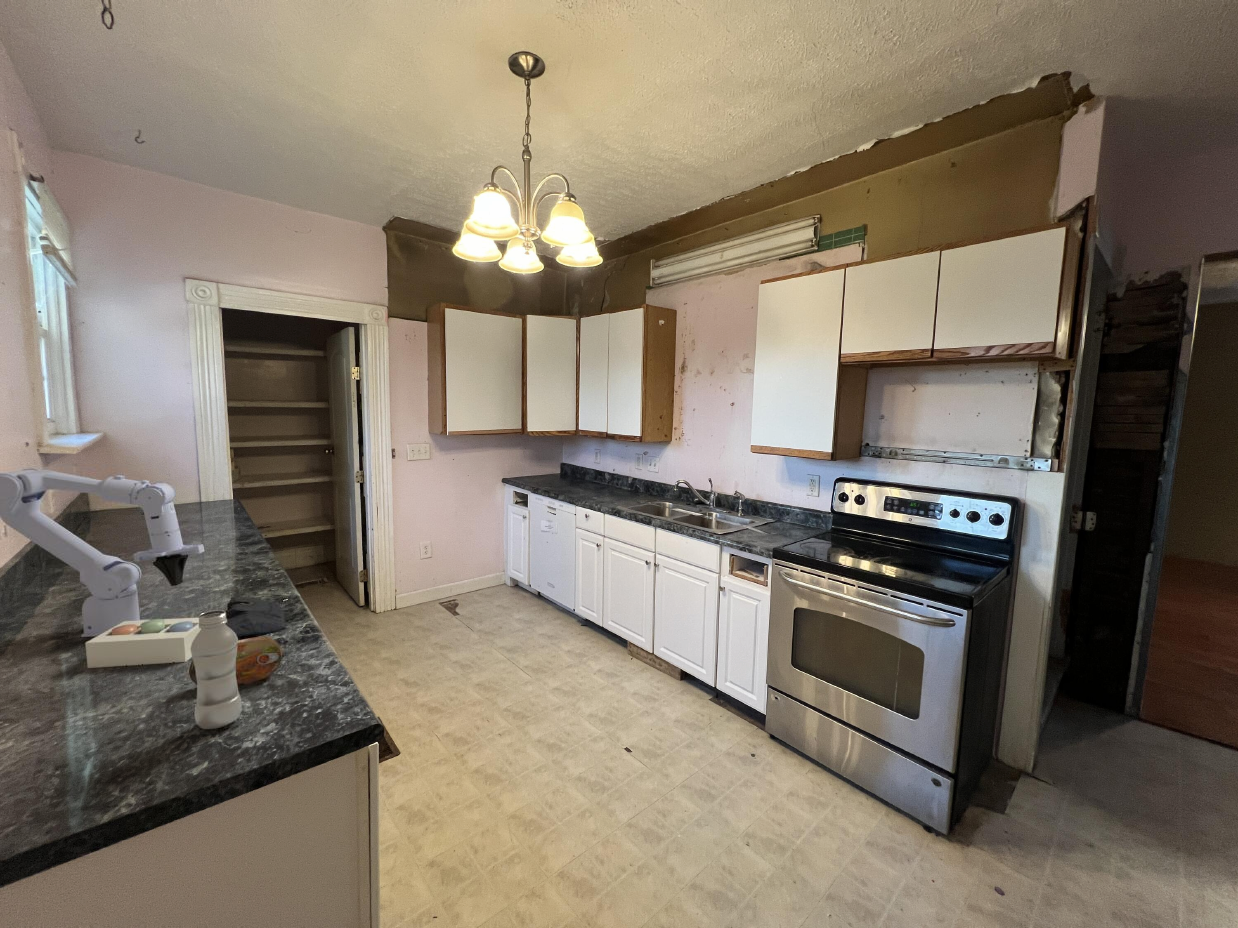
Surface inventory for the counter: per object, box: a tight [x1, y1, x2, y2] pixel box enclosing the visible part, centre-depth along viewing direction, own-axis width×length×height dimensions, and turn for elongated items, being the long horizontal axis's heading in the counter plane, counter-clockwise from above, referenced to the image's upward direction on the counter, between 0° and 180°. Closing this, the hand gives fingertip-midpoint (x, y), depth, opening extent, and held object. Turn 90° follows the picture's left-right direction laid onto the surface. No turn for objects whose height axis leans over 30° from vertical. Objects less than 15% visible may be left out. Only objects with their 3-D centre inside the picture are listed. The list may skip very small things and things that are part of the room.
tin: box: [188, 636, 283, 686], centre depth 105 cm, size 15×3×8 cm, turn 117°
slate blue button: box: [169, 621, 193, 632], centre depth 117 cm, size 4×4×3 cm
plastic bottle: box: [191, 609, 243, 730], centre depth 91 cm, size 6×7×20 cm
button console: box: [84, 617, 201, 669], centre depth 116 cm, size 18×11×6 cm, turn 101°
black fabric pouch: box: [223, 596, 287, 638], centre depth 133 cm, size 15×22×5 cm
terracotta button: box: [111, 624, 137, 636], centre depth 115 cm, size 4×4×3 cm
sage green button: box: [140, 618, 165, 634], centre depth 116 cm, size 4×4×3 cm
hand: (176, 584), depth 130 cm, fingers closed
